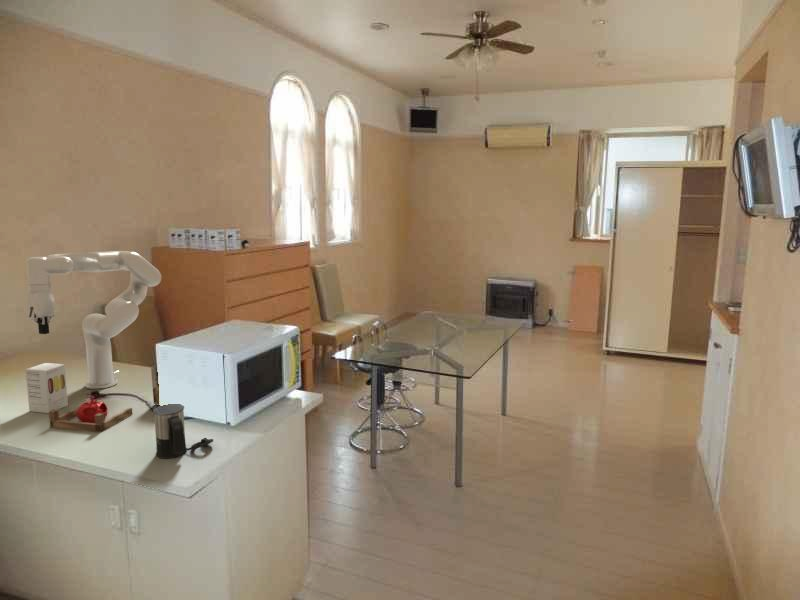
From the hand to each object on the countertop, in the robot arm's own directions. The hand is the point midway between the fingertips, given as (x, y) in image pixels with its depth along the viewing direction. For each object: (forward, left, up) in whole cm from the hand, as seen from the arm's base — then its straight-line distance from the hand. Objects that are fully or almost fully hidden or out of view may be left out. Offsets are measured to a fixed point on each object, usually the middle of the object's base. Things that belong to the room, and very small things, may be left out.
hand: (44, 333), depth 218 cm
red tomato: (+18, +34, -27) cm, 47 cm away
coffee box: (-2, +51, -27) cm, 58 cm away
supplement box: (+11, +9, -27) cm, 30 cm away
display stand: (+18, +34, -27) cm, 47 cm away
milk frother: (+34, +80, -27) cm, 91 cm away
